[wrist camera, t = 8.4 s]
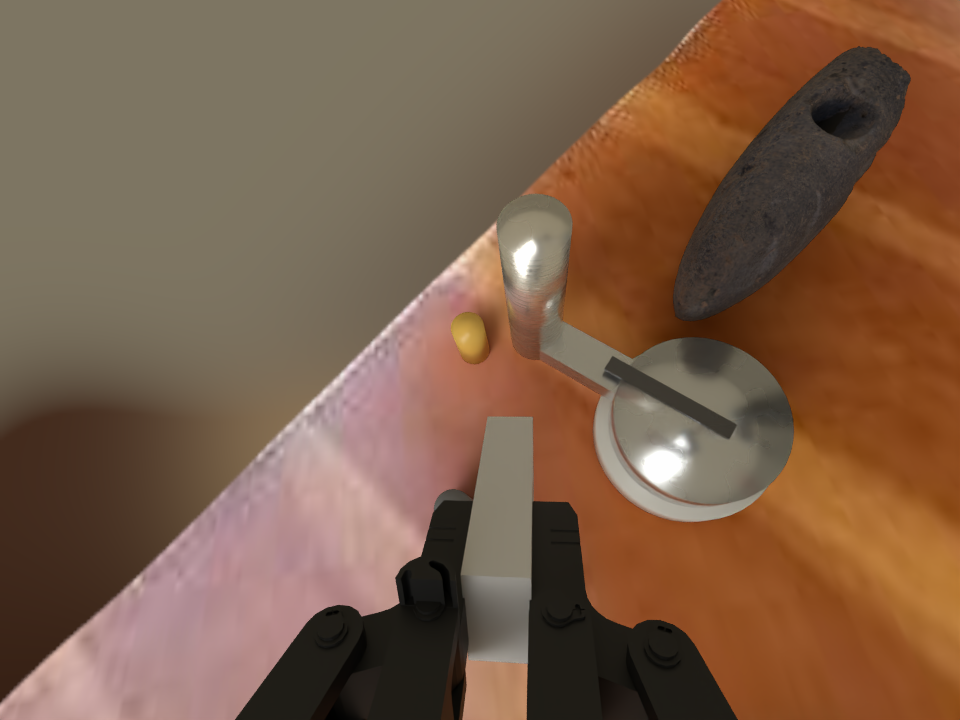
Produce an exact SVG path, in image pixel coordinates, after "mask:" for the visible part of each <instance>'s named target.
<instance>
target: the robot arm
mask: <svg viewBox="0 0 960 720" xmlns="http://www.w3.org/2000/svg"><path fill="white" fill-rule="evenodd" d="M395 579H396V585H397V590H398V596H399V602H400V603H399V604H398V605H396V606H394V607H392V608H391V609H388V610H385V611H382V612H379V613H375V614H371V615H367V616H363V617H361V615H360V614H359V612H358V611H357V610H356V609H354V608H352V607H350V606H344V605H336V606H332V607H328V608H325V609H324V610H322V611H320V612H318V613H317V614H315V615H314V616H313V617H312V618H311V619H310V620H309V621H308V622H307V623H306V625H305V626H304V627H303V629H302V630H301V631H300V633H299V634H298V635H297V637H296V638H295V639H294V641H293V642H292V643H291V645H290V646H289V647H288V649H287V650H286V652H285V653H284V654H283V656H282V657H281V658H280V660H279V661H278V662H277V664H276V665H275V666H274V668H273V669H272V670H271V672H270V673H269V675H268V676H267V677H266V679H265V680H264V681H263V683H262V684H261V685H260V687H259V688H258V689H257V691H256V692H255V693H254V695H253V696H252V697H251V699H250V700H249V702H248V703H247V704H246V706H245V707H244V708H243V710H242V711H241V712H240V714H239V715H238V716H237V718H236V719H235V720H462V717H463V709H464V701H465V693H466V672H465V667H466V659H467V652H468V657H469V660H477V661H493V662H508V663H524V664H528V677H527V720H738V719H737V718H736V716H735V714H734V712H733V711H732V709H731V707H730V705H729V704H728V702H727V700H726V698H725V697H724V695H723V693H722V691H721V690H720V688H719V686H718V684H717V683H716V681H715V679H714V677H713V676H712V674H711V672H710V671H709V669H708V667H707V665H706V664H705V662H704V660H703V658H702V657H701V655H700V653H699V651H698V650H697V648H696V646H695V644H694V643H693V642H692V641H691V639H690V638H689V637H688V636H687V634H686V633H685V632H683V631H682V630H680V629H679V628H677V627H676V626H675V625H673V624H670V623H667V622H664V621H661V620H646V621H644V622H641V623H639V624H637V625H636V626H635V627H634V628H633V629H632V628H629V627H626V626H623V625H620V624H617V623H615V622H613V621H611V620H608V619H606V618H605V617H603V616H602V615H601V614H599V613H598V612H597V611H596V610H595V609H594V608H593V606H592V605H591V603H590V602H589V600H588V598H587V594H586V590H585V581H584V572H583V563H582V554H581V546H580V536H579V527H578V518H577V514H576V513H575V511H574V510H573V508H572V507H571V506H570V504H569V503H568V502H540V501H534V472H533V417H488V418H487V424H486V430H485V436H484V441H483V447H482V453H481V459H480V465H479V471H478V476H477V482H476V488H475V494H474V500H473V501H455V500H443V502H442V503H441V504H440V505H439V506H438V507H437V509H436V510H435V511H434V512H433V515H432V519H431V522H430V526H429V530H428V533H427V537H426V541H425V544H424V548H423V552H422V555H421V557H419V558H416V559H414V560H412V561H409V562H408V563H407V564H406V565H405V566H403V567H402V568H401V569H400V571H399V573H398V574H397V576H396V578H395Z"/></svg>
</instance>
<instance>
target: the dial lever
mask: <svg viewBox="0 0 960 720" xmlns="http://www.w3.org/2000/svg"><path fill="white" fill-rule="evenodd" d="M571 234H572V217H571V214H570V212H569V210H568V209H567V208H566V206H565V205H564V204H563V203H562V202H560V201H559V200H557V199H555V198H553V197H551V196H548V195H543V194H529V195H524V196H521V197H519V198H516V199H514V200H513V201H511V202H510V203H509V204H507V205H506V206H505V207H504V209H503V210H502V211H501V213H500V215H499V217H498V220H497V236H498V243H499V251H500V258H501V265H502V273H503V280H504V288H505V295H506V303H507V310H508V318H509V325H510V333H511V340H512V344H513V347H514V349H515V350H516V351H517V352H518V353H519V354H520V355H521V356H523V357H525V358H527V359H531V360H541V361H543V362H545V363H546V364H548V365H550V366H552V367H553V368H555V369H557V370H559V371H560V372H562V373H564V374H565V375H567V376H569V377H571V378H572V379H574V380H576V381H577V382H579V383H581V384H583V385H584V386H586V387H588V388H590V389H591V390H593V391H595V392H596V393H598V394H600V395H602V396H603V397H605V398H607V399H608V400H610V401H611V403H610V408H609V413H608V430H609V436H610V441H611V444H612V447H613V450H614V453H615V455H616V456H617V458H618V460H619V462H620V464H621V465H622V467H623V468H624V470H625V471H626V472H627V473H628V474H629V476H630V477H631V478H632V479H633V480H634V481H635V482H636V483H637V484H638V485H640V486H641V487H642V488H643V489H645V490H646V491H648V492H649V493H650V494H652V495H654V496H656V497H658V498H660V499H662V500H664V501H667V502H669V503H672V504H676V505H680V506H685V507H693V508H706V507H714V506H719V505H723V504H728V503H732V502H736V501H739V500H743V499H746V498H748V497H751V496H753V495H755V494H757V493H758V492H760V491H762V490H763V489H765V488H766V487H767V486H768V485H770V484H771V483H772V482H773V481H774V480H775V479H776V478H777V476H778V475H779V474H780V473H781V471H782V470H783V468H784V466H785V465H786V463H787V460H788V458H789V455H790V453H791V449H792V444H793V435H794V427H793V418H792V413H791V409H790V406H789V403H788V400H787V398H786V396H785V394H784V392H783V390H782V388H781V386H780V385H779V383H778V382H777V381H776V379H775V378H774V377H773V375H772V374H771V373H770V372H769V371H768V370H767V369H766V368H765V367H764V366H763V365H762V364H761V363H760V362H759V361H757V360H756V359H755V358H753V357H752V356H751V355H749V354H748V353H746V352H744V351H742V350H741V349H739V348H737V347H734V346H732V345H730V344H727V343H724V342H721V341H718V340H713V339H708V338H697V337H690V338H679V339H673V340H669V341H666V342H663V343H660V344H658V345H655V346H653V347H652V348H650V349H648V350H646V351H645V352H644V353H642V354H641V355H640V356H638V357H637V358H636V359H635V360H633V359H631V358H630V357H628V356H626V355H624V354H622V353H620V352H619V351H617V350H615V349H613V348H611V347H609V346H608V345H606V344H604V343H602V342H600V341H598V340H597V339H595V338H593V337H591V336H589V335H587V334H586V333H584V332H582V331H580V330H578V329H576V328H575V327H573V326H571V325H569V324H567V323H565V322H564V321H563V312H564V302H565V293H566V283H567V273H568V264H569V254H570V244H571Z"/></svg>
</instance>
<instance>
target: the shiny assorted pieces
mask: <svg viewBox="0 0 960 720" xmlns="http://www.w3.org/2000/svg"><path fill="white" fill-rule="evenodd" d="M451 332H452V335H453V337H454V340H455V342H456V344H457V347H458V349H459V352H460V354H461V357H462V358H463V360H464V361H466V362H467V363H470V364H479V363H481V362H483V361H484V360H485V359H486V358H487V357H488V355H489V351H490V348H489V344H488V340H487V336H486V332H485V328H484V324H483V321H482V319H481V318H480V316H478V315H477V314H475V313H472V312H465V313H462V314H460V315H458V316H457V317H456V318H455V319H454V320H453V322H452V324H451ZM639 356H640V355H639ZM637 357H638V356H636V357H635V358H633V360H635V359H636V358H637ZM610 403H611V401H610V400H608V399H607V398H605V397H603V396H602V395H601V397H600V400H599V402H598V405H597V408H596V411H595V415H594V421H593V440H594V446H595V451H596V454H597V457H598V460H599V463H600V465H601V467H602V469H603V471H604V473H605V474H606V476H607V477H608V479H609V480H610V482H611V483H612V484H613V486H614V487H615V488H616V489H617V490H618V491H619V492H620V493H621V494H622V495H623V496H624V497H625V498H626V499H627V500H628V501H630V502H631V503H633V504H634V505H636V506H637V507H639V508H640V509H642V510H644V511H646V512H648V513H650V514H652V515H655V516H658V517H660V518H664V519H668V520H672V521H679V522H699V521H707V520H713V519H719V518H723V517H726V516H729V515H732V514H734V513H737V512H739V511H741V510H743V509H744V508H746V507H747V506H749V505H750V504H752V503H753V502H754V501H755V500H756V499H757V498H759V497H760V496H761V495H762V493H763V492H764V491H765V490H766V488H767V487H768V486H769V485H768V486H767V487H766V488H765V489H763V490H762V491H760V492H758V493H757V494H755V495H753V496H751V497H748V498H746V499H743V500H739V501H736V502H732V503H728V504H723V505H719V506H714V507H706V508H693V507H685V506H680V505H676V504H672V503H669V502H667V501H664V500H662V499H660V498H658V497H656V496H654V495H652V494H650V493H649V492H648V491H646V490H645V489H643V488H642V487H641V486H640V485H638V484H637V483H636V482H635V481H634V480H633V479H632V478H631V477H630V476H629V474H628V473H627V472H626V471H625V470H624V468H623V467H622V465H621V464H620V462H619V460H618V458H617V456H616V455H615V453H614V450H613V447H612V444H611V441H610V436H609V430H608V413H609V408H610ZM443 500H455V501H473V499H472V498H470V497H469V496H468V495H466V494H465V493H463V492H462V491H460V490H456V489H451V490H447V491H445V492H443V493H442V494H440V495H439V497H438V498H437V500H436V502H435V505H434V511H435V510H436V509H437V507H438V506H439V505H440V504H441V503H442V502H443Z"/></svg>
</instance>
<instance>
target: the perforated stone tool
mask: <svg viewBox="0 0 960 720" xmlns="http://www.w3.org/2000/svg"><path fill="white" fill-rule="evenodd" d="M910 79H911V78H910V75H909V74H908V73H907V71H906V70H904V69H903V68H902V67H901V66H899V64H897V63H893V62H892V61H891V59H890V58H889V57H887V56H886V55H885V54H881V52H880V51H879V50H878V49H875V48H872V47H867V48H864V47H860V46H858V47H857V48H852V49H850V50H848V51H846V52H844V53H842V54H841V55H839V56H838V57H836V58H835V59H834V60H833V61H832V62H830V63H829V64H828V65H827V66H826V67H824V68H823V69H822V70H821V71H820V72H818V73H817V74H816V75H815V76H814V77H813V78H812V79H810V80H809V81H808V82H807V83H806V84H805V85H804V86H803V87H802V88H801V89H800V90H799V91H798V92H797V93H796V94H795V95H794V96H793V97H792V98H790V99H789V100H788V102H787V103H786V104H785V105H784V106H783V107H782V108H781V109H780V110H779V111H778V112H777V113H776V115H775V116H774V117H773V118H772V119H771V120H770V121H769V122H768V123H767V125H766V126H765V127H764V128H763V129H762V130H761V132H760V133H759V134H758V135H757V136H756V137H755V139H754V140H753V141H752V142H751V143H750V144H749V146H748V147H747V148H746V150H745V151H744V152H743V154H742V155H741V156H740V158H739V159H738V160H737V161H736V163H735V164H734V165H733V167H732V168H731V169H730V171H729V172H728V174H727V175H726V176H725V178H724V179H723V181H722V182H721V184H720V185H719V187H718V188H717V190H716V192H715V193H714V195H713V197H712V199H711V201H710V202H709V204H708V205H707V207H706V209H705V211H704V213H703V215H702V217H701V218H700V220H699V222H698V224H697V226H696V228H695V230H694V232H693V234H692V236H691V238H690V241H689V243H688V245H687V247H686V250H685V252H684V255H683V257H682V260H681V263H680V266H679V270H678V274H677V277H676V281H675V287H674V294H673V303H674V309H675V316H676V317H677V318H679V319H682V320H683V321H696V320H701V319H705V318H708V317H710V316H713V315H715V314H717V313H720V312H722V311H724V310H726V309H727V308H729V307H731V306H732V305H734V304H736V303H738V302H740V301H741V300H743V299H745V298H746V297H748V296H750V295H751V294H753V293H754V292H756V291H757V290H758V289H760V288H761V287H762V286H764V285H765V284H766V283H768V282H769V281H770V280H771V279H772V278H774V277H775V276H776V275H777V274H778V273H779V272H780V271H781V270H782V269H784V267H785V266H786V265H787V264H788V263H789V262H791V261H792V260H793V259H794V258H795V257H796V256H797V255H798V254H799V253H800V252H801V251H802V250H803V249H804V248H805V247H806V246H807V245H808V244H809V243H810V242H811V241H812V239H813V238H814V237H815V236H816V235H817V234H818V233H819V232H820V231H821V230H822V229H823V228H824V227H825V226H826V225H827V224H828V222H829V221H830V220H831V219H832V218H833V217H834V216H835V215H836V214H837V212H838V211H839V210H840V208H841V207H842V206H843V204H844V203H845V201H846V200H847V197H848V196H849V194H850V193H851V191H852V190H853V186H854V184H855V183H856V182H857V181H858V180H859V179H860V178H861V177H862V175H863V174H864V173H865V172H866V171H867V170H868V168H869V167H870V166H871V164H872V162H873V160H874V157H875V156H876V152H877V151H878V150H880V148H882V147H883V146H884V144H885V143H886V142H887V141H888V139H889V138H890V136H891V133H892V131H893V130H894V128H895V127H896V126H897V124H898V121H899V119H900V116H901V113H902V110H903V108H904V104H905V95H906V91H907V88H908V85H909V83H910Z"/></svg>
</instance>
